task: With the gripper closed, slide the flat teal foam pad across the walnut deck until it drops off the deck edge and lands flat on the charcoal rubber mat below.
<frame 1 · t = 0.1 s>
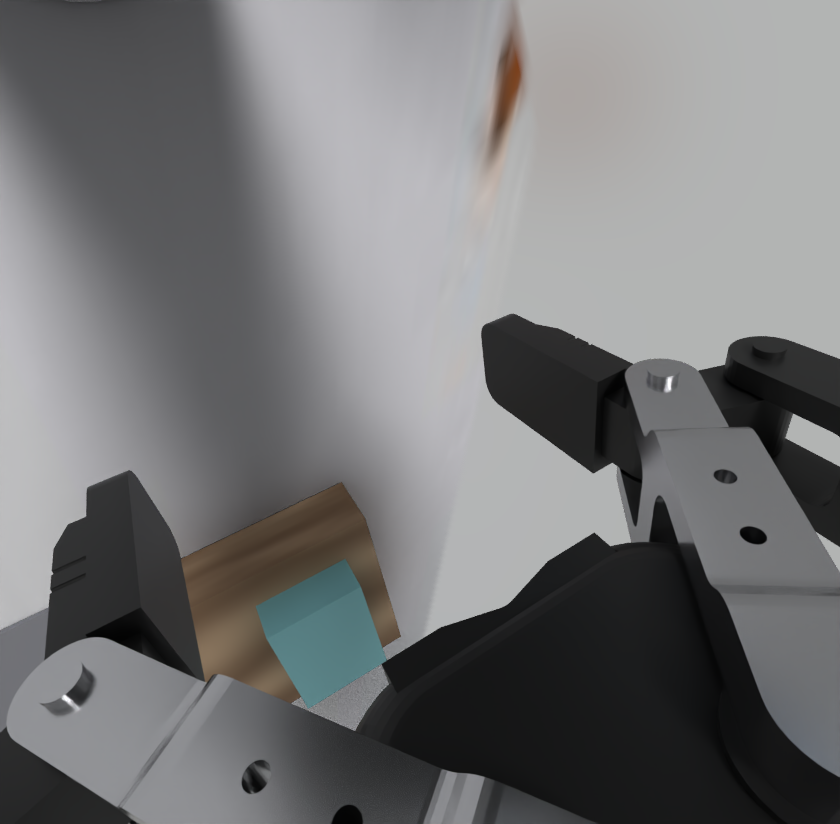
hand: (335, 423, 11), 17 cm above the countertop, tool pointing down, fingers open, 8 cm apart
teal foam pad: (326, 635, 34), point 5 cm above the countertop, touching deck
mat: (49, 712, 33), on the countertop
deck: (275, 592, 37), on the countertop
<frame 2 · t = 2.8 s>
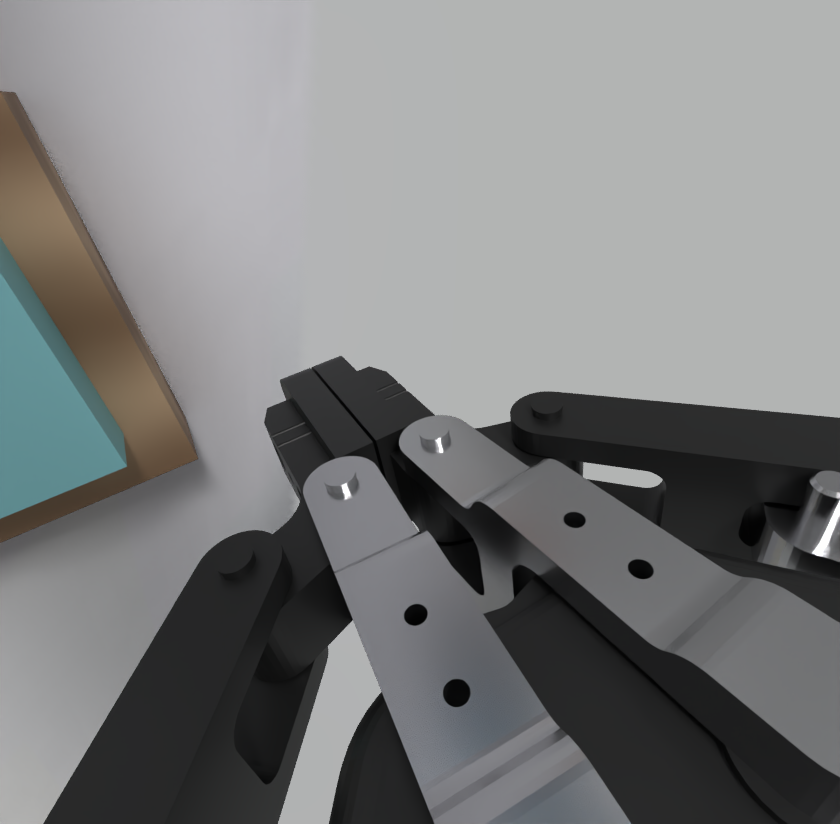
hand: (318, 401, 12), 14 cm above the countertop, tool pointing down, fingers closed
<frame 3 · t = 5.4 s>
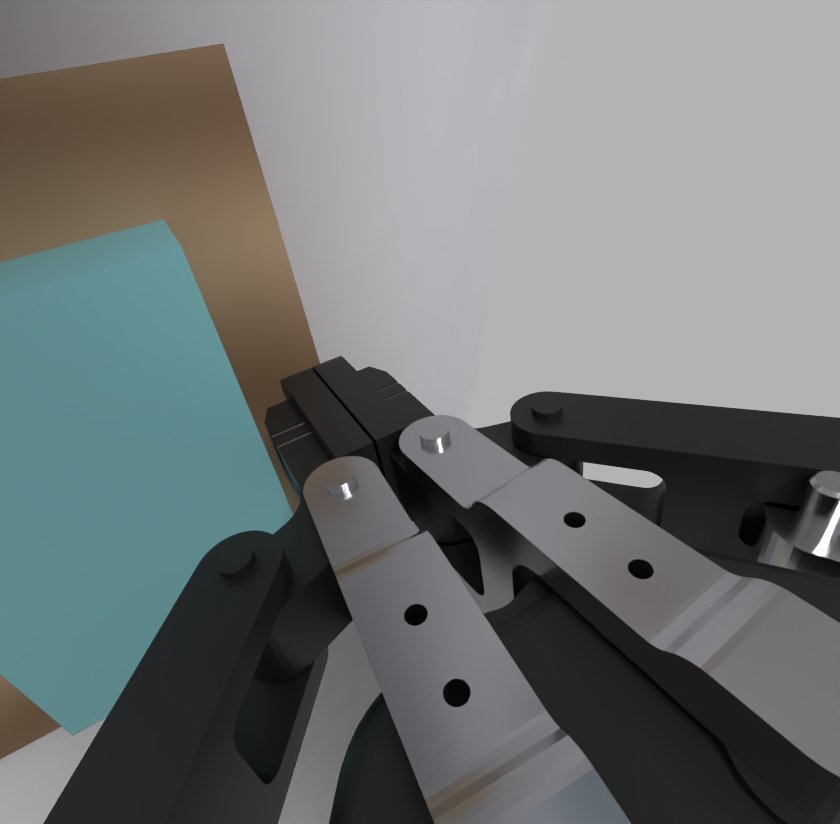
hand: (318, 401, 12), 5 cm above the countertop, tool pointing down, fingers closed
teal foam pad: (115, 493, 11), point 5 cm above the countertop, touching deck, gripper
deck: (33, 414, 14), on the countertop
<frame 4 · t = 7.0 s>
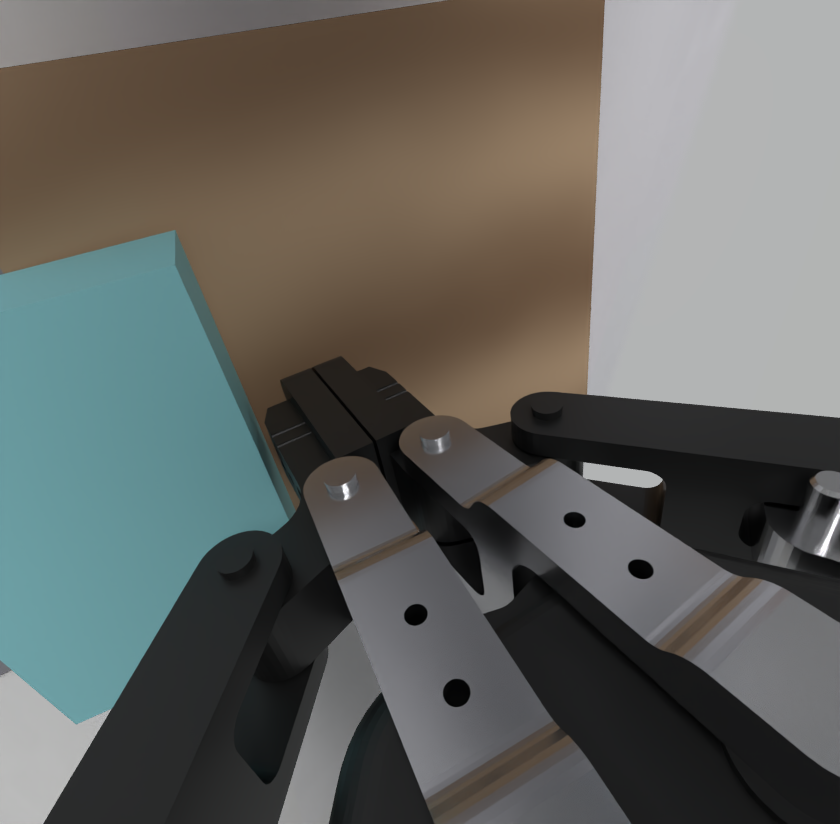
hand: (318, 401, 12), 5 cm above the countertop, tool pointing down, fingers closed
teal foam pad: (121, 498, 11), point 5 cm above the countertop, tilted 7°, touching gripper
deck: (339, 301, 17), on the countertop
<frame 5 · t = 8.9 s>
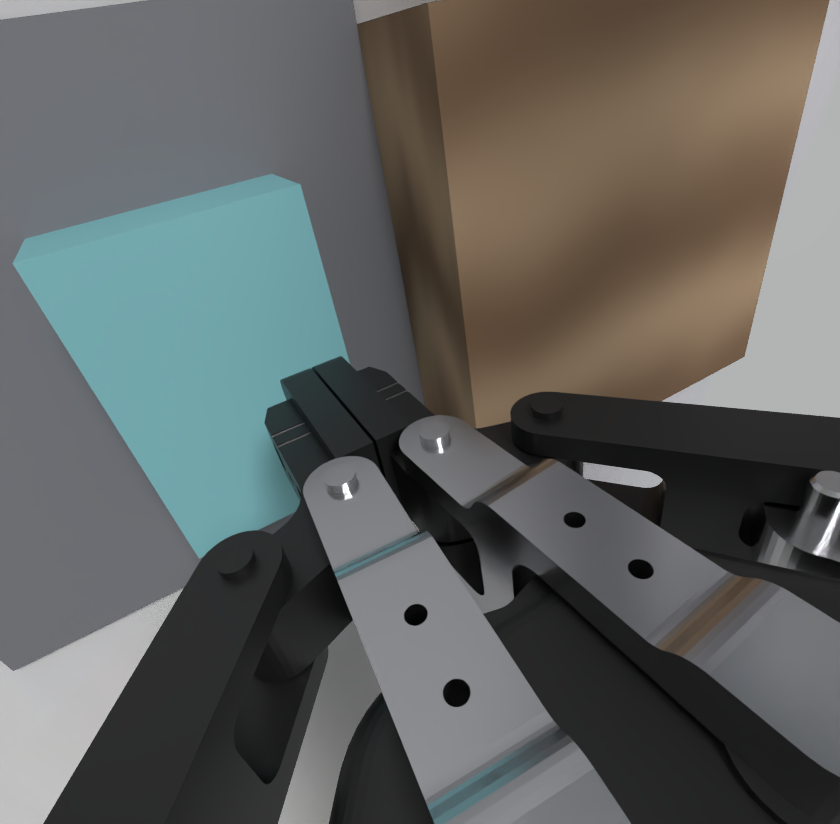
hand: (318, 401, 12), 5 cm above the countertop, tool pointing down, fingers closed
teal foam pad: (233, 375, 15), point 2 cm above the countertop, tilted 180°, touching mat
mat: (156, 366, 15), on the countertop
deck: (560, 224, 20), on the countertop
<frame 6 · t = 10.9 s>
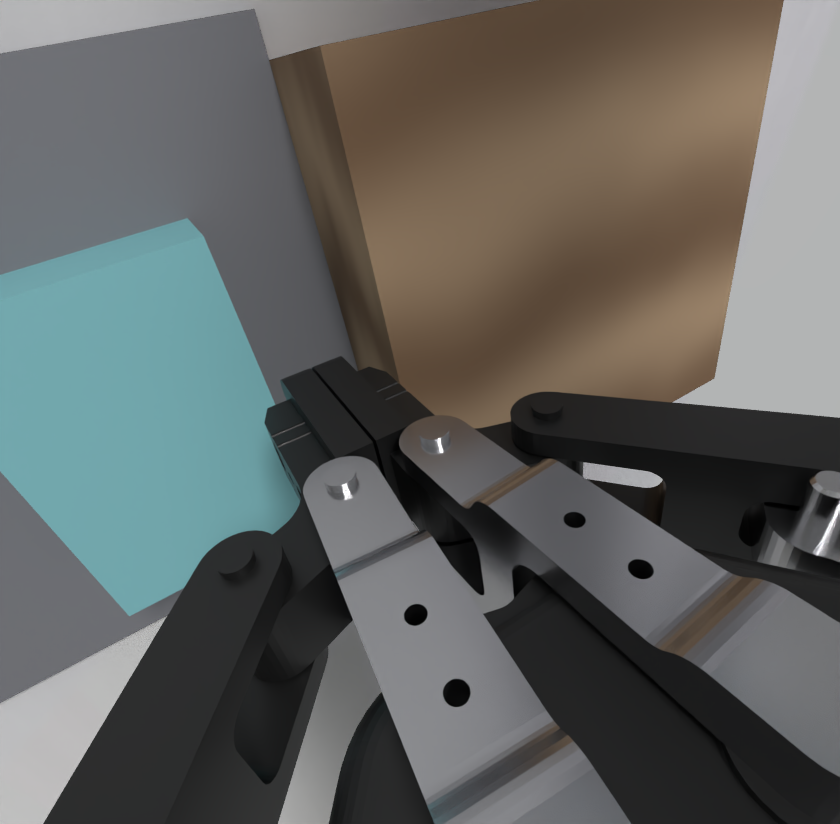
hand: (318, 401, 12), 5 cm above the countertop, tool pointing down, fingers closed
teal foam pad: (156, 427, 14), point 2 cm above the countertop, tilted 180°, touching mat
mat: (78, 418, 14), on the countertop
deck: (513, 250, 19), on the countertop
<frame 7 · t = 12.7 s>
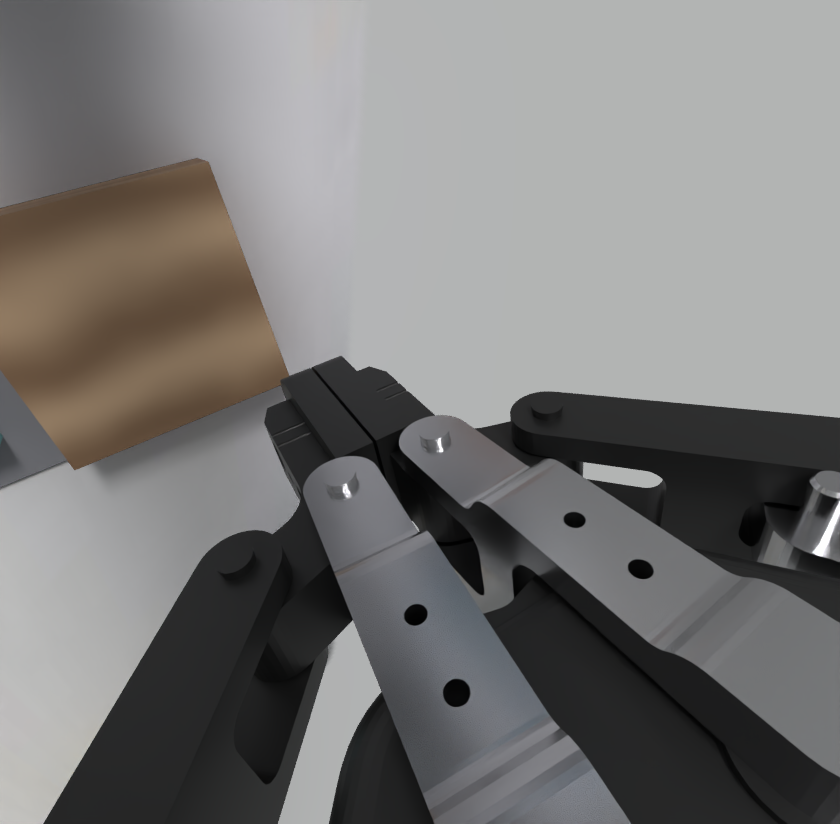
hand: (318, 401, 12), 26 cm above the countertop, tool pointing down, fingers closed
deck: (133, 306, 33), on the countertop
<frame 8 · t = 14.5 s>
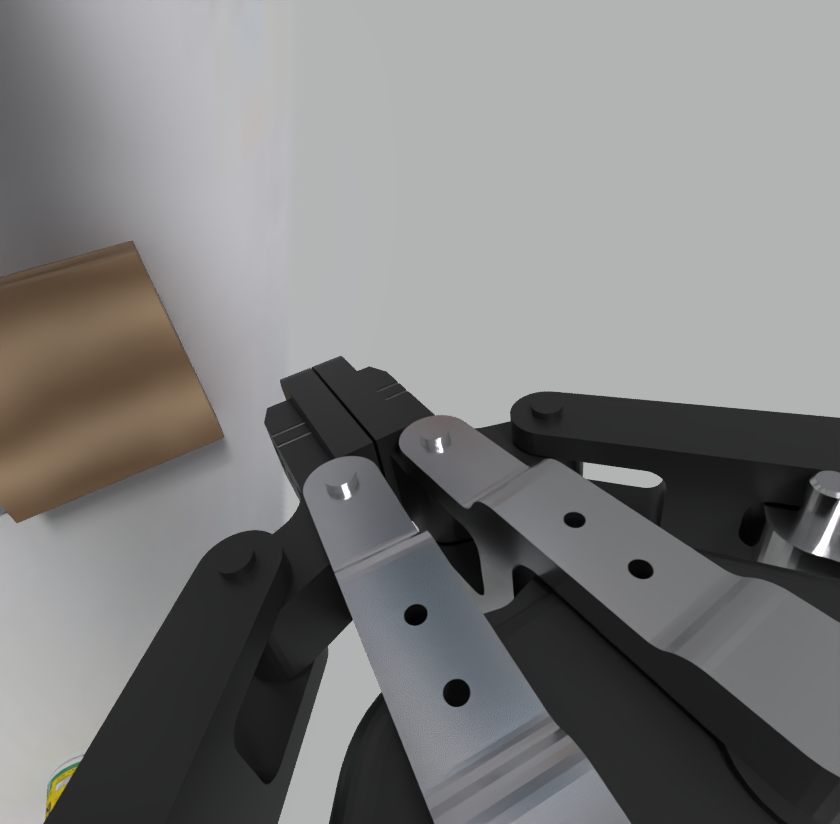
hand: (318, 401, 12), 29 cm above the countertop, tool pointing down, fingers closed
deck: (74, 371, 36), on the countertop
supplement bottle: (80, 769, 52), on the countertop
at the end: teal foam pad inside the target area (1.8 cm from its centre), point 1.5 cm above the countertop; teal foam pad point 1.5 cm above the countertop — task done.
